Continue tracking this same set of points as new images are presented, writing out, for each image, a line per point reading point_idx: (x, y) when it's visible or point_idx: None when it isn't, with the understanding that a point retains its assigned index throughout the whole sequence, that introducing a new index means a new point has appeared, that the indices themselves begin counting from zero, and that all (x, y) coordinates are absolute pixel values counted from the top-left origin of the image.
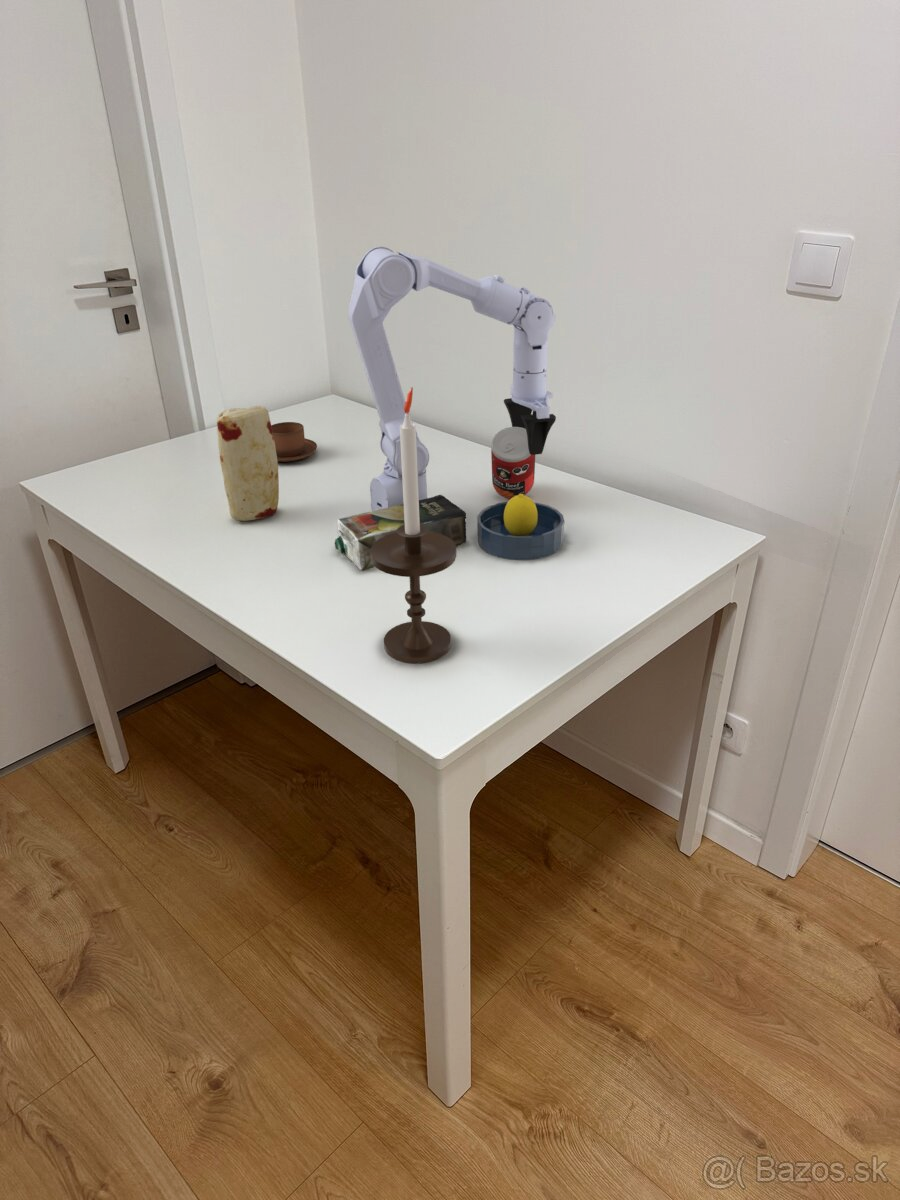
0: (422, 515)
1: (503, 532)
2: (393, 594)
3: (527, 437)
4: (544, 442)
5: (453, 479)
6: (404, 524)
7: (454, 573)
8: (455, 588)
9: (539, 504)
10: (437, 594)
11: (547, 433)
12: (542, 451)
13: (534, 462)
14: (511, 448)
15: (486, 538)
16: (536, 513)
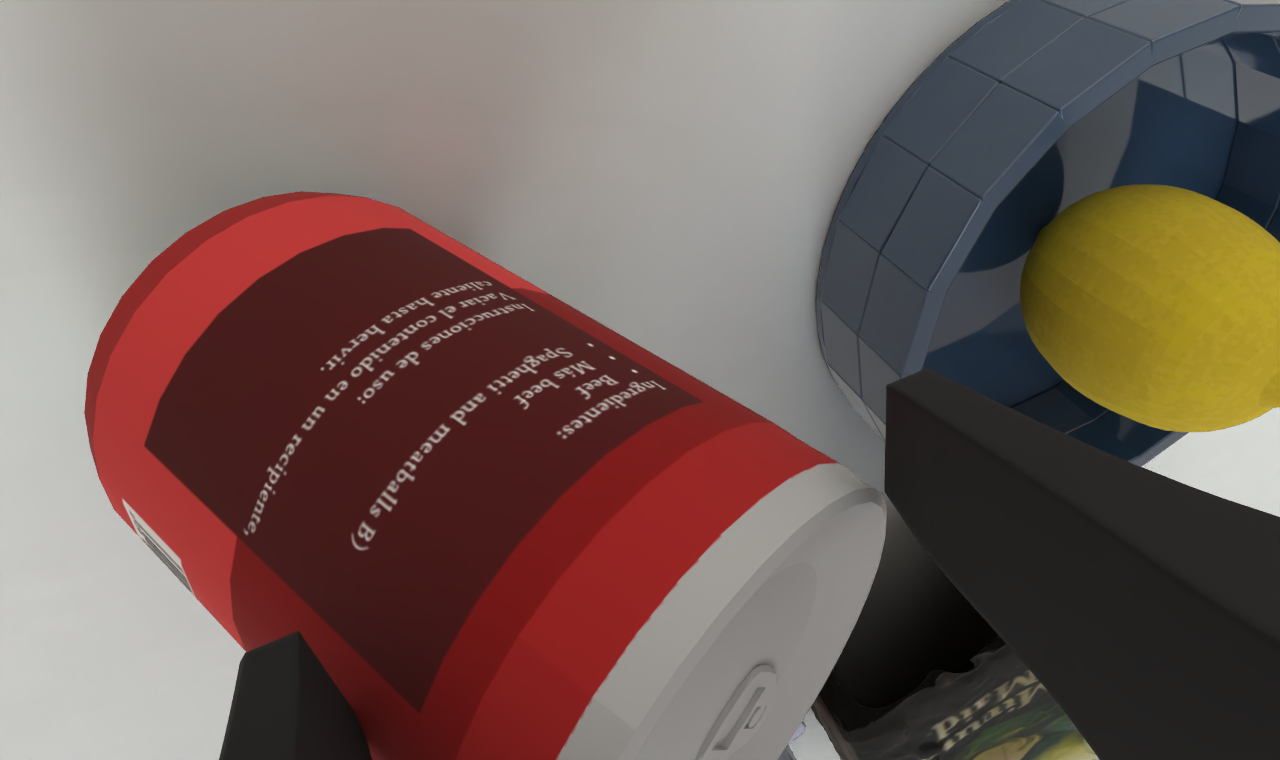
0: (1029, 716)
1: (947, 324)
2: None
3: (1048, 684)
4: (1073, 445)
5: (50, 732)
6: (1073, 737)
7: (1163, 453)
8: (1249, 429)
9: (1017, 182)
10: (1249, 471)
11: (1259, 517)
12: (949, 380)
13: (589, 342)
14: (764, 684)
15: None
16: (1259, 227)
